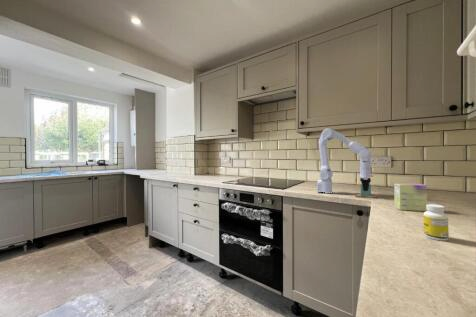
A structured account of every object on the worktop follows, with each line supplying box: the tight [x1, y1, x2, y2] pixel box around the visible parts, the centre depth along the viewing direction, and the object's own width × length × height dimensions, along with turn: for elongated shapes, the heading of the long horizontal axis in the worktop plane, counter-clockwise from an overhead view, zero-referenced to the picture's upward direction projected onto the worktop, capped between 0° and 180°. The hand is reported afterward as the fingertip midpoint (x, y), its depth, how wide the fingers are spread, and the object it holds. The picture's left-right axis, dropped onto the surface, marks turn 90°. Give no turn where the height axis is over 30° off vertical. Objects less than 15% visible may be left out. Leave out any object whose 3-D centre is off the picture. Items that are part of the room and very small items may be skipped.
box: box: [393, 182, 428, 212], centre depth 94 cm, size 10×6×12 cm, turn 74°
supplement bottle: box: [423, 203, 450, 242], centre depth 62 cm, size 5×5×10 cm
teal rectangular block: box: [360, 183, 372, 196], centre depth 126 cm, size 5×5×7 cm
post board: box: [354, 192, 378, 200], centre depth 126 cm, size 11×11×5 cm
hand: (365, 190), depth 126 cm, fingers open, 6 cm apart
